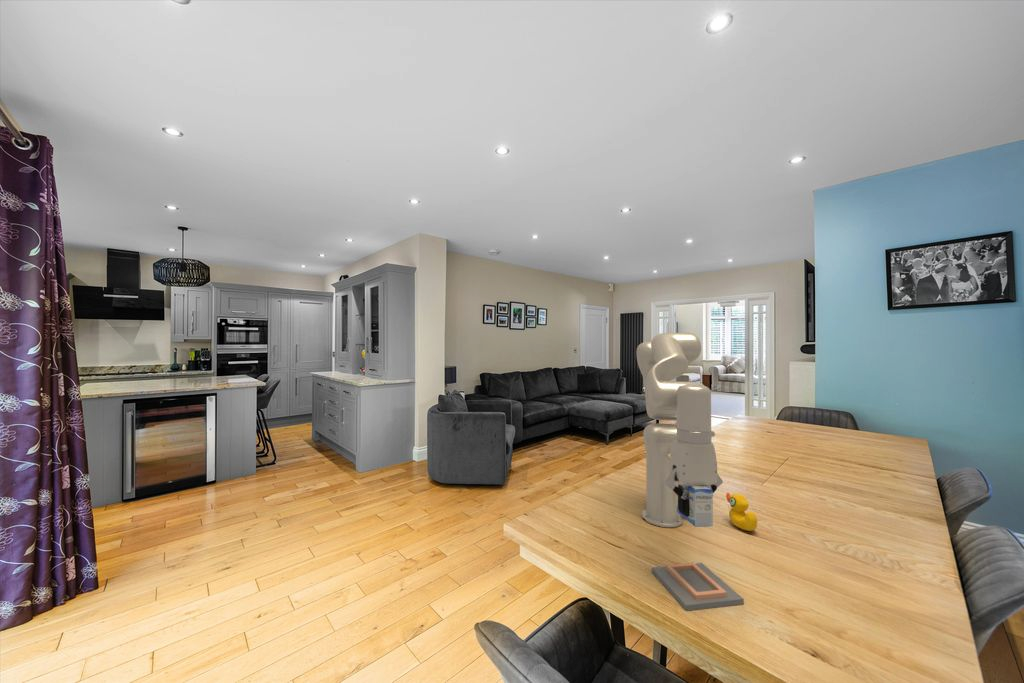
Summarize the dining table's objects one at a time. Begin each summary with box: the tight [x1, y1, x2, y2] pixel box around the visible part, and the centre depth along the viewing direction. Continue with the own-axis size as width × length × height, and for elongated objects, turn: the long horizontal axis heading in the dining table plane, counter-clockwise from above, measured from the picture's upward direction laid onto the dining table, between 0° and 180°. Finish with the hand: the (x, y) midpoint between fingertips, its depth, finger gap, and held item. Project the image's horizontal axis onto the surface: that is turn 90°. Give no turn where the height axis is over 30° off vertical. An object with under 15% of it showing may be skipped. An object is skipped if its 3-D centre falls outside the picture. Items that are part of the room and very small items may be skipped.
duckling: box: [725, 492, 758, 532], centre depth 118 cm, size 11×5×10 cm, turn 10°
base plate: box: [651, 562, 745, 612], centre depth 87 cm, size 14×14×2 cm
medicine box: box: [677, 481, 714, 528], centre depth 88 cm, size 8×4×9 cm, turn 5°
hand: (694, 512), depth 88 cm, fingers closed on medicine box, 4 cm apart
